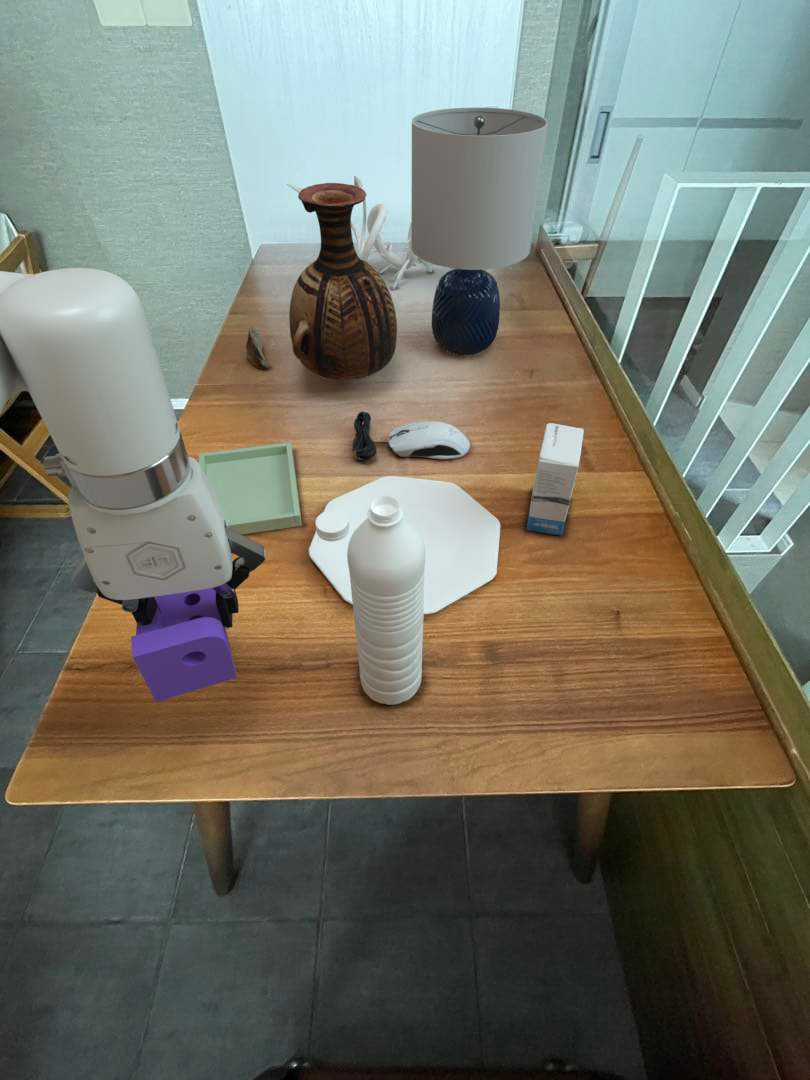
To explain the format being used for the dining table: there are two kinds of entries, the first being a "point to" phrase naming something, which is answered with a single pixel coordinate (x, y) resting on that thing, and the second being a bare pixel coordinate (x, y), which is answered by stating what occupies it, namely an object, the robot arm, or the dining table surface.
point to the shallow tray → (255, 487)
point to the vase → (340, 296)
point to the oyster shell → (255, 349)
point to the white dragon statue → (374, 227)
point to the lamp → (473, 211)
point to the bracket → (183, 645)
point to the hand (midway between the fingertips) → (192, 619)
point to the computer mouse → (412, 440)
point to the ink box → (555, 478)
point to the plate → (446, 529)
